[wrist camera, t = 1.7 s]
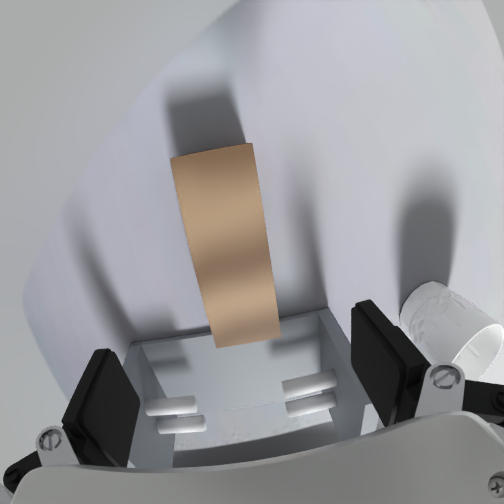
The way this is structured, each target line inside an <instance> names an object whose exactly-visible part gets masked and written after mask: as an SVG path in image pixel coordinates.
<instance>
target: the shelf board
mask: <svg viewBox="0 0 504 504" xmlns="http://www.w3.org/2000/svg"><path fill="white" fill-rule="evenodd" d="M170 161H171V166H172V171H173V176H174V181H175V186H176V191H177V195H178V200H179V205H180V209H181V214H182V218H183V223H184V227H185V231H186V236H187V240H188V244H189V248H190V252H191V256H192V260H193V265H194V268H195V272H196V276H197V280H198V284H199V288H200V292H201V295H202V299H203V303H204V307H205V310H206V314H207V317H208V321H209V325H210V328H211V332H212V335H213V339H214V342H215V345H216V349H217V348H223V347H229V346H235V345H241V344H247V343H253V342H258V341H264V340H269V339H274V338H279V337H281V330H280V323H279V316H278V308H277V301H276V294H275V287H274V280H273V273H272V267H271V260H270V253H269V246H268V240H267V233H266V227H265V220H264V213H263V207H262V201H261V194H260V188H259V182H258V175H257V169H256V163H255V157H254V151H253V145H252V143H246V144H240V145H234V146H228V147H222V148H217V149H212V150H206V151H201V152H196V153H192V154H187V155H182V156H178V157H174V158H171V159H170Z"/></svg>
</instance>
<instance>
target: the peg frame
mask: <svg viewBox="0 0 504 504" xmlns="http://www.w3.org/2000/svg"><path fill="white" fill-rule="evenodd" d="M279 323H280V330H281V337H279V338H274V339H269V340H264V341H258V342H253V343H247V344H241V345H235V346H229V347H223V348H217V349H216V345H215V342H214V339H213V335H212V332H211V331H209V332H203V333H197V334H190V335H184V336H177V337H170V338H163V339H155V340H148V341H140V342H132V343H131V345H130V348H129V351H128V353H127V356H126V358H125V361H124V364H123V369H124V371H125V373H126V375H127V377H128V378H129V380H130V382H131V384H132V386H133V387H134V389H135V391H136V393H137V394H138V396H139V398H140V409H139V413H138V418H137V422H136V427H135V431H134V436H133V440H132V445H131V450H130V455H129V460H128V465H127V468H172V462H173V451H174V441H175V433H187V432H199V431H206V421H205V417H204V416H203V415H200V416H190V417H178V418H177V416H183V415H194V414H204V413H213V412H221V411H228V410H235V409H242V408H248V407H254V406H259V405H265V404H270V403H275V402H280V401H285V400H290V399H294V398H299V397H303V396H307V395H311V394H315V393H319V392H322V394H318V395H314V396H310V397H306V398H302V399H297V400H293V401H288V402H285V405H286V410H287V414H288V418H291V417H295V416H300V415H304V414H308V413H312V412H316V411H320V410H324V409H329V412H330V414H331V417H332V420H333V422H334V425H335V428H336V430H337V433H338V436H339V438H340V441H345V440H348V439H351V438H355V437H358V436H361V435H364V434H367V433H370V432H373V431H376V426H377V422H378V418H379V415H378V414H377V412H376V410H375V408H374V406H373V404H372V402H371V401H370V399H369V397H368V395H367V393H366V391H365V390H364V388H363V386H362V384H361V382H360V380H359V379H358V377H357V375H356V373H355V371H354V370H353V368H352V365H351V344H350V342H349V341H348V339H347V337H346V336H345V334H344V332H343V331H342V329H341V327H340V325H339V324H338V322H337V320H336V319H335V317H334V316H333V314H332V312H331V311H330V309H329V307H328V308H324V309H319V310H315V311H311V312H306V313H302V314H297V315H293V316H288V317H283V318H279Z"/></svg>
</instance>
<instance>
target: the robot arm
mask: <svg viewBox="0 0 504 504" xmlns="http://www.w3.org/2000/svg"><path fill="white" fill-rule="evenodd" d="M351 365H352V368H353V370H354V371H355V373H356V375H357V377H358V379H359V380H360V382H361V384H362V386H363V388H364V390H365V391H366V393H367V395H368V397H369V399H370V401H371V402H372V404H373V406H374V408H375V410H376V412H377V414H378V415H379V417H380V419H381V421H382V423H383V425H384V426H385V428H382V429H379V430H376V431H373V432H370V433H367V434H364V435H361V436H358V437H355V438H351V439H348V440H345V441H341V442H338V443H334V444H331V445H327V446H324V447H320V448H316V449H312V450H308V451H303V452H299V453H294V454H290V455H285V456H280V457H274V458H269V459H263V460H257V461H250V462H244V463H235V464H227V465H217V466H206V467H190V468H127V465H128V460H129V455H130V450H131V445H132V440H133V436H134V431H135V427H136V422H137V418H138V413H139V409H140V398H139V396H138V394H137V393H136V391H135V389H134V387H133V386H132V384H131V382H130V380H129V378H128V377H127V375H126V373H125V371H124V369H123V367H122V365H121V363H120V361H119V359H118V357H117V355H116V354H115V352H113V351H111V350H110V349H108V348H106V349H97V350H95V351H94V353H93V355H92V357H91V359H90V361H89V363H88V365H87V367H86V369H85V371H84V373H83V375H82V377H81V379H80V381H79V383H78V385H77V388H76V390H75V392H74V394H73V396H72V398H71V400H70V403H69V405H68V407H67V409H66V412H65V414H64V416H63V418H62V423H63V427H62V428H61V427H58V426H50V427H47V428H46V429H44V430H43V431H42V432H41V433H40V434H39V435H38V437H37V439H36V448H37V451H35V452H33V453H31V454H30V455H28V456H26V457H25V458H23V459H21V460H20V461H18V462H16V463H14V464H13V465H11V466H10V467H8V468H7V470H6V471H5V474H4V477H3V482H4V485H2V484H0V504H504V385H499V384H491V383H485V382H479V381H472V380H466V379H465V374H464V372H463V370H462V369H461V368H460V367H459V366H458V365H456V364H454V363H450V362H439V363H435V364H433V365H431V364H430V363H429V361H428V360H427V359H426V358H425V357H424V355H423V354H422V353H421V352H420V351H419V350H418V348H417V347H416V346H415V345H414V344H413V343H412V342H411V340H410V339H409V338H408V337H407V336H406V335H405V333H404V332H403V331H402V330H401V329H400V328H399V327H398V326H394V325H393V324H392V323H391V322H390V321H389V319H388V318H387V317H386V316H385V315H384V314H383V313H382V312H381V310H380V309H379V308H378V307H377V306H376V305H375V304H374V303H373V301H372V300H370V299H369V300H365V301H361V302H358V303H356V304H355V307H353V308H352V309H351Z"/></svg>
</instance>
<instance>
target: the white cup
mask: <svg viewBox="0 0 504 504" xmlns="http://www.w3.org/2000/svg"><path fill="white" fill-rule="evenodd" d="M400 324H401V328H402V329H403V331H404V332H405V333H406V335H407V336H408V337H409V339H410V340H411V341H412V343H413V344H414V345H415V346H416V347H417V348H418V350H419V351H420V352H421V353H422V354H423V355H424V357H425V358H426V359H427V360H428V361H429V363H430V364H431V365H433V364H435V363H439V362H450V363H454V364H456V365H458V366H459V367H460V368H461V369H462V370H463V372H464V374H465V379H466V380H472V381H478V380H479V379H480V378H481V377H482V376H483V375H484V374H485V372H486V371H487V370H488V369H489V368H490V366H491V365H492V364H493V362H494V361H495V359H496V357H497V355H498V354H499V351H500V349H501V347H502V344H503V340H504V328H503V326H502V325H501V324H500V323H499V322H497V321H496V320H495V319H493V318H492V317H491V316H489V315H488V314H486V313H485V312H484V311H482V310H481V309H480V308H478V307H477V306H475V305H474V304H473V303H471V302H470V301H468V300H467V299H465V298H463V297H462V296H461V295H459V294H457V293H456V292H454V291H452V290H450V289H449V288H447V287H446V286H445V285H443V284H441V283H438V282H434V281H431V282H428V283H425V284H422V285H420V286H419V287H418V288H417V289H415V290H414V291H413V292H412V293H411V294H410V295H409V297H408V298H407V300H406V301H405V303H404V304H403V307H402V311H401V314H400Z"/></svg>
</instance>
